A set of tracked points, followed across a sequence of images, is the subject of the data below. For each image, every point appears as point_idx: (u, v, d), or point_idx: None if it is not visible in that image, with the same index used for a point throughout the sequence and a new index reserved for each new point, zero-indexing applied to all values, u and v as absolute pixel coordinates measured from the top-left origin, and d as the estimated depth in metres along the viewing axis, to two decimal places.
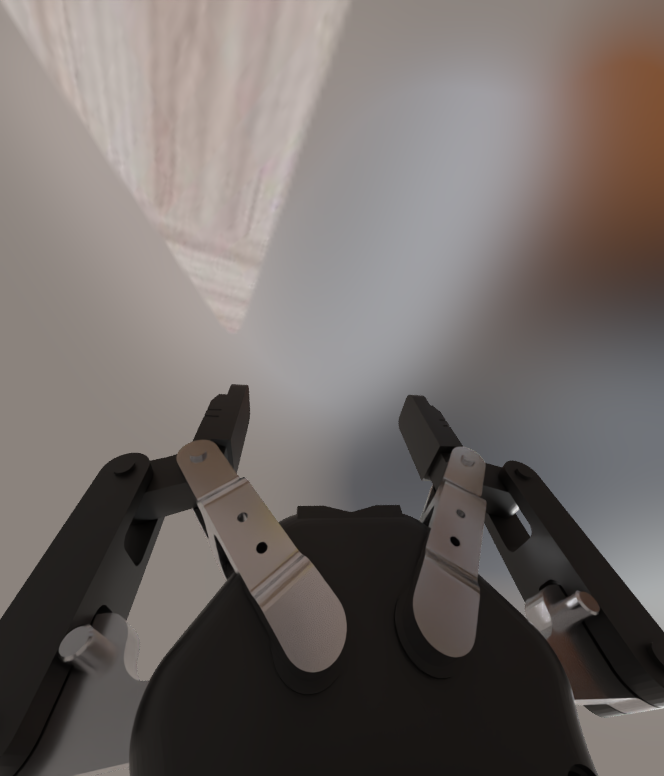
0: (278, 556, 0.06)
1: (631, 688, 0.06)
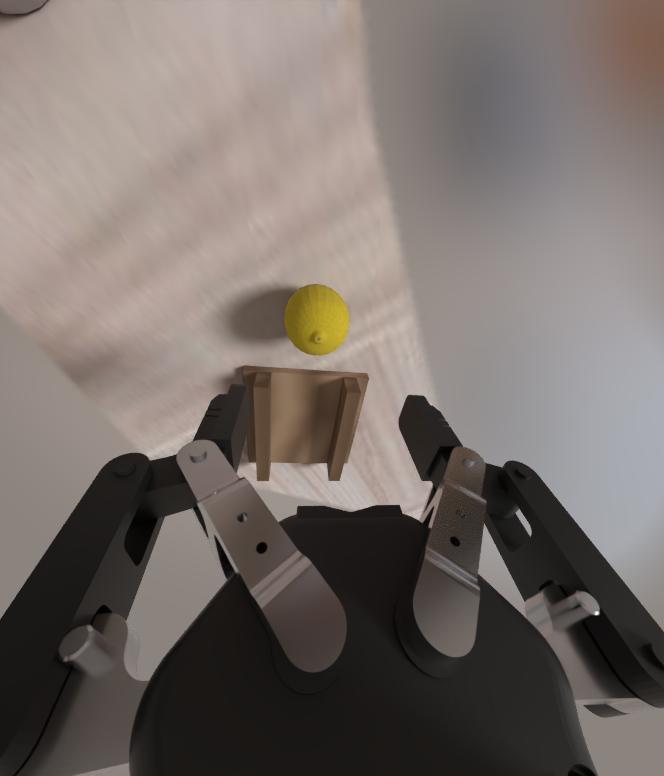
0: (278, 556, 0.06)
1: (631, 688, 0.06)
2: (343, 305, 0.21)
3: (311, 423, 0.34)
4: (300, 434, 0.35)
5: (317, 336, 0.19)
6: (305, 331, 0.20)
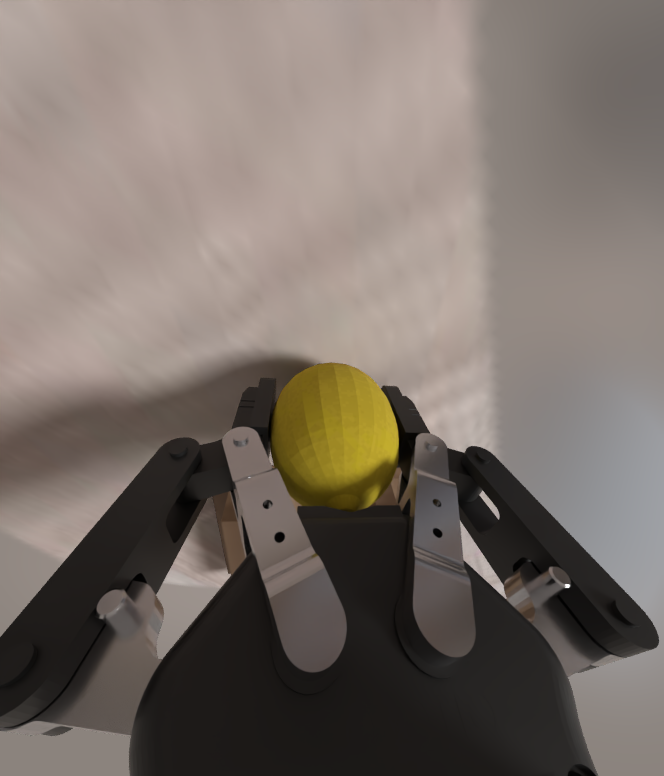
0: (292, 550, 0.06)
1: (605, 647, 0.06)
2: (390, 417, 0.10)
3: None
4: None
5: None
6: (313, 494, 0.09)
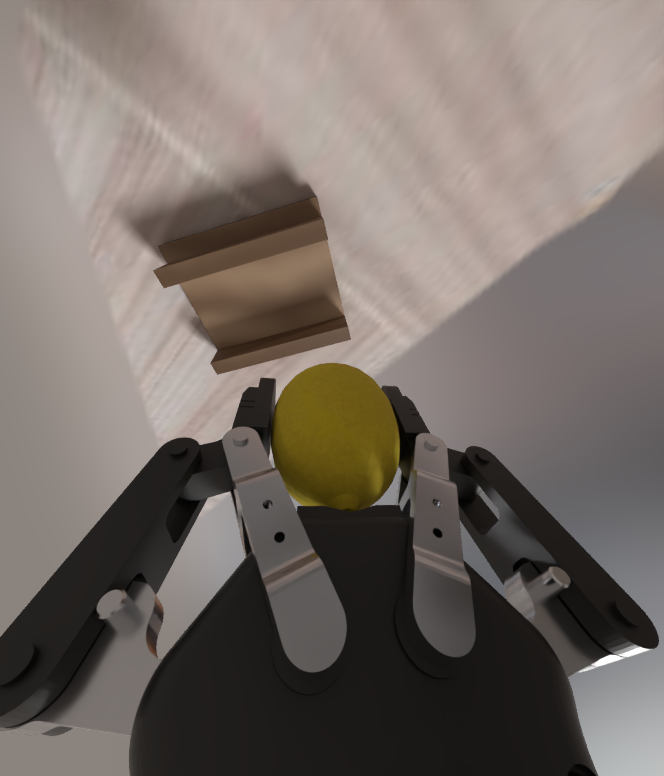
0: (292, 549, 0.06)
1: (605, 647, 0.06)
2: (391, 418, 0.10)
3: (271, 307, 0.28)
4: (247, 301, 0.27)
5: None
6: (314, 494, 0.09)
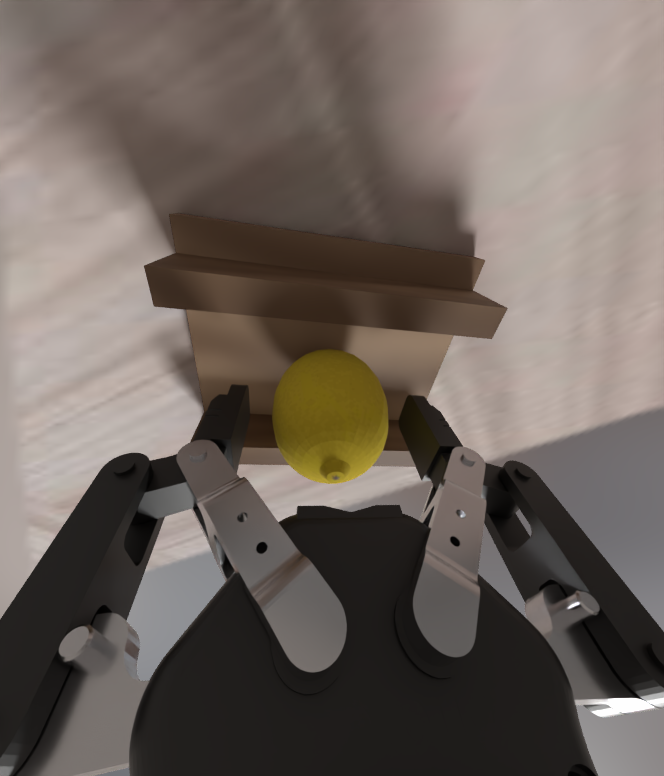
0: (278, 557, 0.06)
1: (631, 688, 0.06)
2: (380, 396, 0.11)
3: None
4: (292, 362, 0.16)
5: (333, 473, 0.10)
6: (308, 460, 0.10)
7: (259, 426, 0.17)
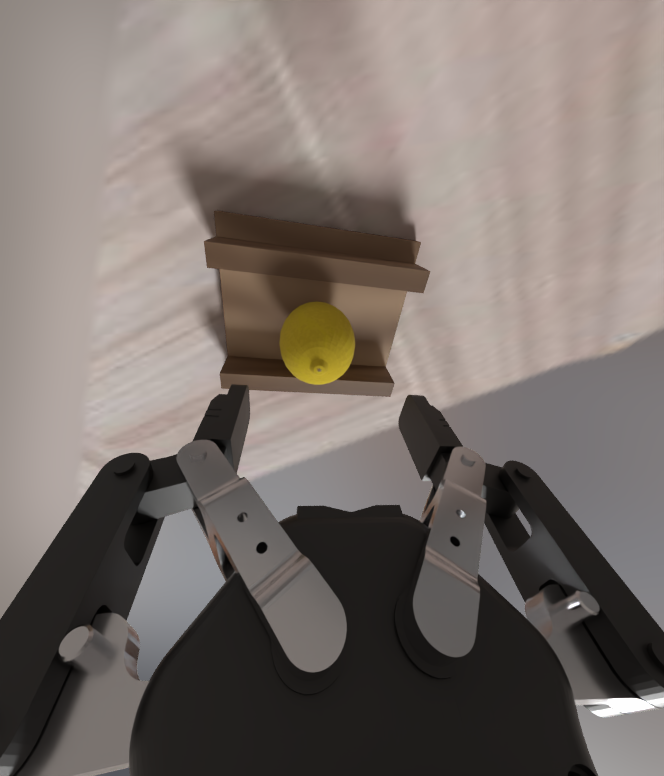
0: (278, 557, 0.06)
1: (631, 688, 0.06)
2: (348, 327, 0.18)
3: None
4: None
5: (317, 366, 0.16)
6: (303, 360, 0.17)
7: (268, 365, 0.24)
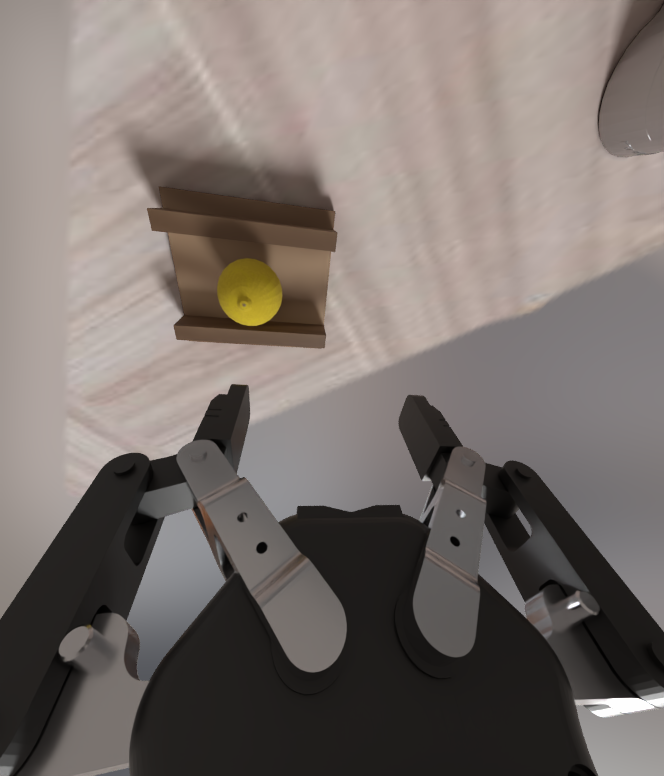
0: (277, 556, 0.06)
1: (631, 688, 0.06)
2: (271, 275, 0.22)
3: None
4: None
5: (242, 302, 0.20)
6: (231, 299, 0.21)
7: (217, 321, 0.28)
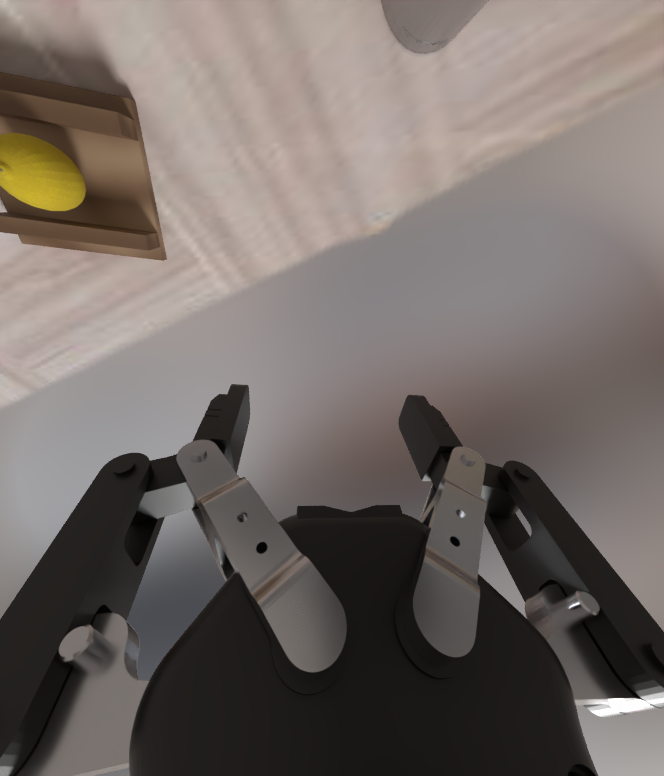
0: (278, 556, 0.06)
1: (631, 688, 0.06)
2: (45, 150, 0.23)
3: None
4: None
5: None
6: None
7: (37, 218, 0.28)
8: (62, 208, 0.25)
